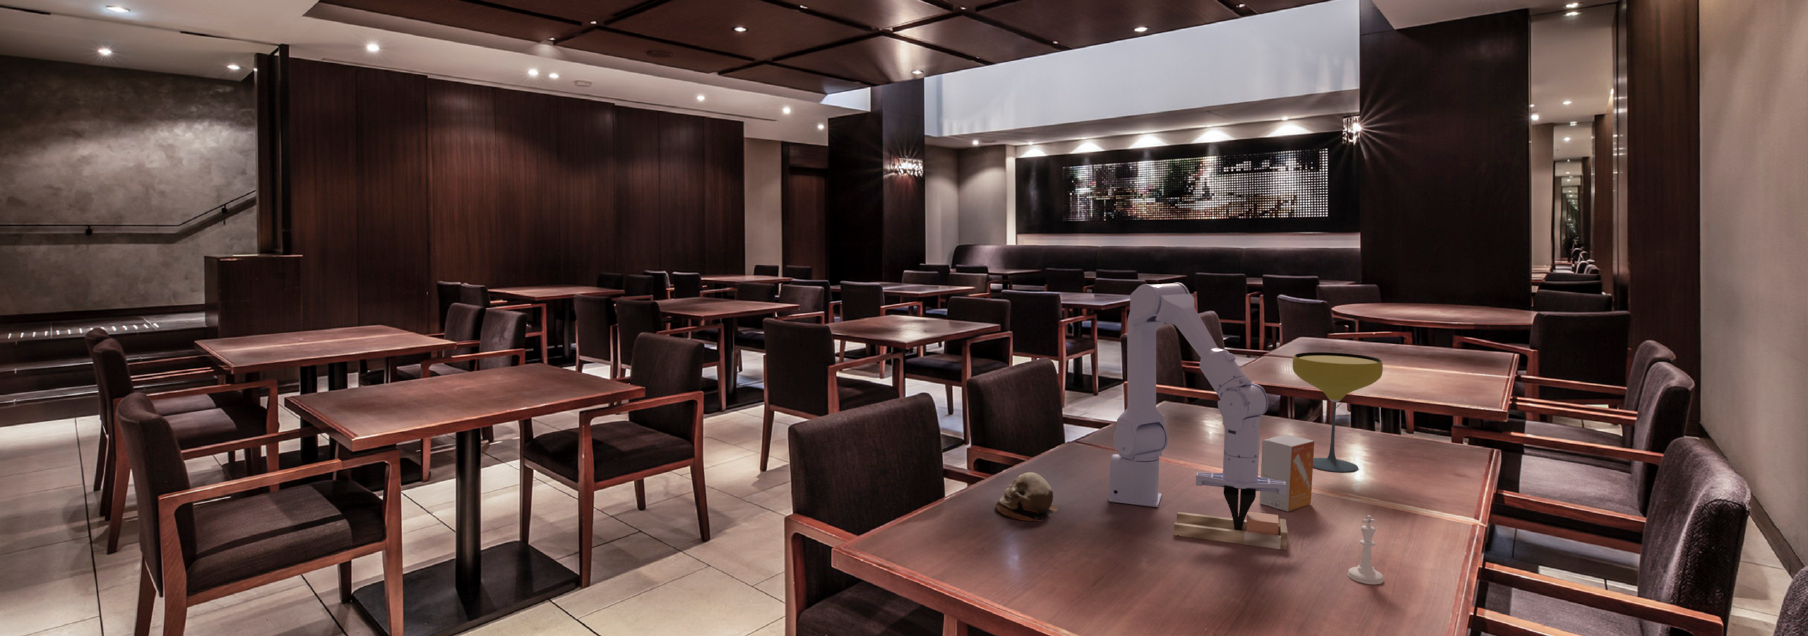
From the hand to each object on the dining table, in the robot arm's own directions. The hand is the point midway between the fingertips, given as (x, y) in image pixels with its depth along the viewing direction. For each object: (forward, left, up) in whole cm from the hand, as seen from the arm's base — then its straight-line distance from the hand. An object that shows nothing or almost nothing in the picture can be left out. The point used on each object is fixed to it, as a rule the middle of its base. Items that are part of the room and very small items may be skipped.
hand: (1238, 528), depth 144 cm
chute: (-2, 0, -1) cm, 2 cm away
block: (+4, 0, -1) cm, 4 cm away
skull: (-38, 0, -2) cm, 38 cm away
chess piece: (+18, -11, -2) cm, 22 cm away
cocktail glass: (+19, +55, -2) cm, 58 cm away
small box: (+8, +22, -2) cm, 24 cm away
